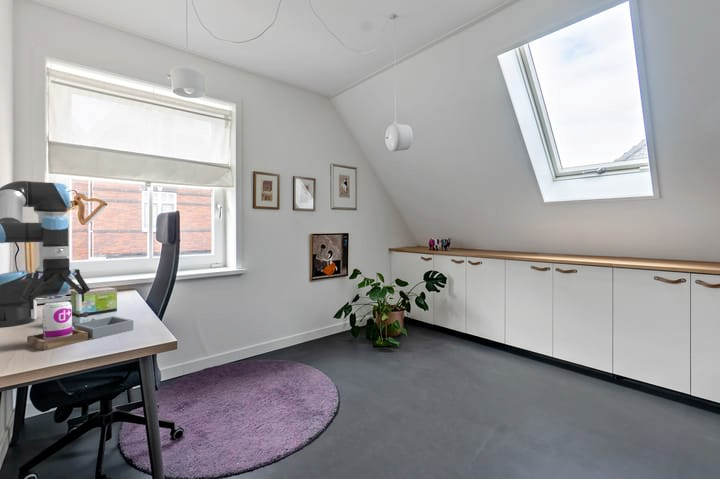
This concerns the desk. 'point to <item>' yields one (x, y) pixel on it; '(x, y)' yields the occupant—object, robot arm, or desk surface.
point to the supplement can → (57, 320)
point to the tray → (105, 326)
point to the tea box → (95, 305)
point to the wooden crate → (57, 340)
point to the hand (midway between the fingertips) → (57, 314)
